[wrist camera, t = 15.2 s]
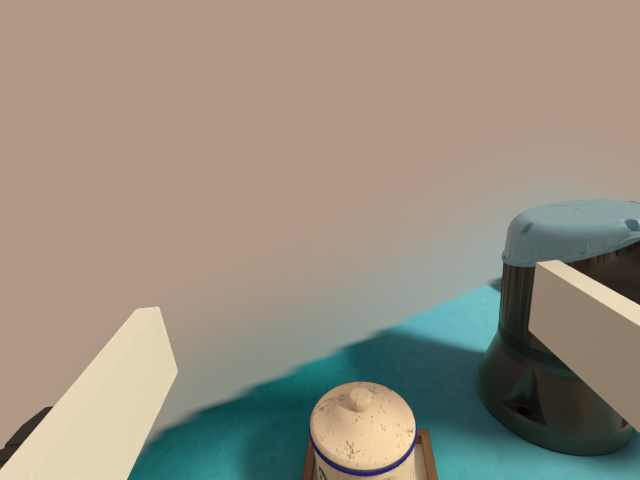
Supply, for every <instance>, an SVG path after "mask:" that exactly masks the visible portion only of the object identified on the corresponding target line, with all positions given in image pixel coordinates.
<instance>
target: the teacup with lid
mask: <svg viewBox="0 0 640 480" xmlns="http://www.w3.org/2000/svg"><path fill="white" fill-rule="evenodd" d="M309 436H310V440H311V443H312V446H313V448H314V452H315V460H316V468H317V476H318V480H414V446H415V443H416V439H417V425H416V421H415V418H414V415H413V413H412V411H411V409H410V407H409V406H408V404H407V403H406V402H405V401H404V399H403V398H402V397H401V396H399V395H398V394H397V393H396V392H394V391H393V390H391V389H389V388H387V387H385V386H382V385H379V384H376V383H370V382H352V383H347V384H343V385H340V386H338V387H336V388H334V389H332V390H330V391H329V392H327V393H326V394H325V395H324V396H323V397H322V398H321V399H320V400H319V401H318V403H317V404H316V406H315V408H314V409H313V412H312V415H311V418H310V422H309Z"/></svg>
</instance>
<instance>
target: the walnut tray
mask: <svg viewBox="0 0 640 480" xmlns="http://www.w3.org/2000/svg"><path fill="white" fill-rule="evenodd" d="M302 480H318V476H317V468H316V460H315V452H314V448H313V446H312V443H311V440H310V437H309V443H308V448H307V454H306V460H305V466H304V472H303V478H302ZM414 480H438V476H437V471H436V466H435V461H434V456H433V451H432V446H431V441H430V436H429V431H428V429H417V439H416V443H415V446H414Z"/></svg>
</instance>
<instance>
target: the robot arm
mask: <svg viewBox="0 0 640 480" xmlns="http://www.w3.org/2000/svg"><path fill="white" fill-rule="evenodd" d="M502 260H503V262H504V263H503V275H502V287H501V300H500V310H499V322H498V331H497V333H496V334H495V336H494V338H493V340H492V342H491V344H490V345H489V347H488V349H487V351H486V353H485V355H484V357H483V358H482V360H481V362H480V365H479V371H478V391H479V394H480V397H481V399H482V401H483V403H484V404H485V406H486V407H487V409H488V410H489V411H490V412H491V413H492V415H493V416H494V417H495V418H496V419H498V420H499V421H500V422H501V423H502V424H503V425H505V426H506V427H507V428H509V429H510V430H512V431H513V432H515V433H516V434H518V435H520V436H521V437H523V438H525V439H527V440H529V441H531V442H533V443H535V444H538V445H540V446H543V447H545V448H548V449H551V450H555V451H558V452H563V453H568V454H574V455H584V456H594V455H603V454H608V453H611V452H614V451H616V450H618V449H620V448H622V447H623V446H624V445H625V444H626V443H627V442H628V441H629V439H630V437H631V434H632V430H633V427H634V428H635V429H636V430H637V431H638V432H639V433H640V203H639V202H634V201H619V200H607V199H605V200H604V199H601V200H600V199H598V200H597V199H596V200H578V201H567V202H559V203H553V204H547V205H543V206H538V207H535V208H532V209H529V210H527V211H524V212H522V213H521V214H519V215H518V216H516V217H515V218H514V219H513V220H512V222H511V223H510V225H509V227H508V232H507V238H506V244H505V250H504V251H503V253H502ZM177 373H178V370H177V367H176V363H175V360H174V356H173V353H172V350H171V346H170V343H169V339H168V336H167V332H166V329H165V326H164V322H163V319H162V315H161V312H160V309H159V307H150V308H142V309H136V310H135V311H134V313H133V314H132V315H131V316H130V317H129V319H128V320H127V321H126V322H125V323H124V324H123V326H122V327H121V328H120V329H119V330H118V331H117V333H116V334H115V335H114V336H113V337H112V339H111V340H110V341H109V342H108V343H107V344H106V346H105V347H104V348H103V349H102V350H101V352H100V353H99V354H98V355H97V356H96V357H95V359H94V360H93V361H92V362H91V363H90V365H89V366H88V367H87V368H86V369H85V370H84V372H83V373H82V374H81V375H80V376H79V378H78V379H77V380H76V381H75V382H74V384H73V385H72V386H71V387H70V388H69V389H68V391H67V392H66V393H65V394H64V395H63V396H62V398H61V399H60V400H59V401H58V402H57V403H56V405H55V406H53V407H46V408H44V409H43V410H42V411H40V412H39V413H38V414H36V415H35V416H34V417H33V418H31V419H30V420H29V421H27V422H26V423H25V424H23V425H22V426H21V427H20V429H19V430H18V431H17V432H16V433H15V434H14V435H13V436H12V438H11V439H10V440H9V441H8V442H7V443H6V444H5V448H4V449H1V450H0V480H127V478H128V476H129V474H130V472H131V470H132V468H133V466H134V463H135V461H136V459H137V457H138V455H139V453H140V451H141V449H142V447H143V445H144V442H145V440H146V438H147V436H148V434H149V432H150V430H151V428H152V425H153V423H154V421H155V419H156V417H157V415H158V413H159V411H160V409H161V407H162V404H163V402H164V400H165V398H166V396H167V394H168V392H169V390H170V388H171V386H172V384H173V381H174V379H175V377H176V375H177Z"/></svg>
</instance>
